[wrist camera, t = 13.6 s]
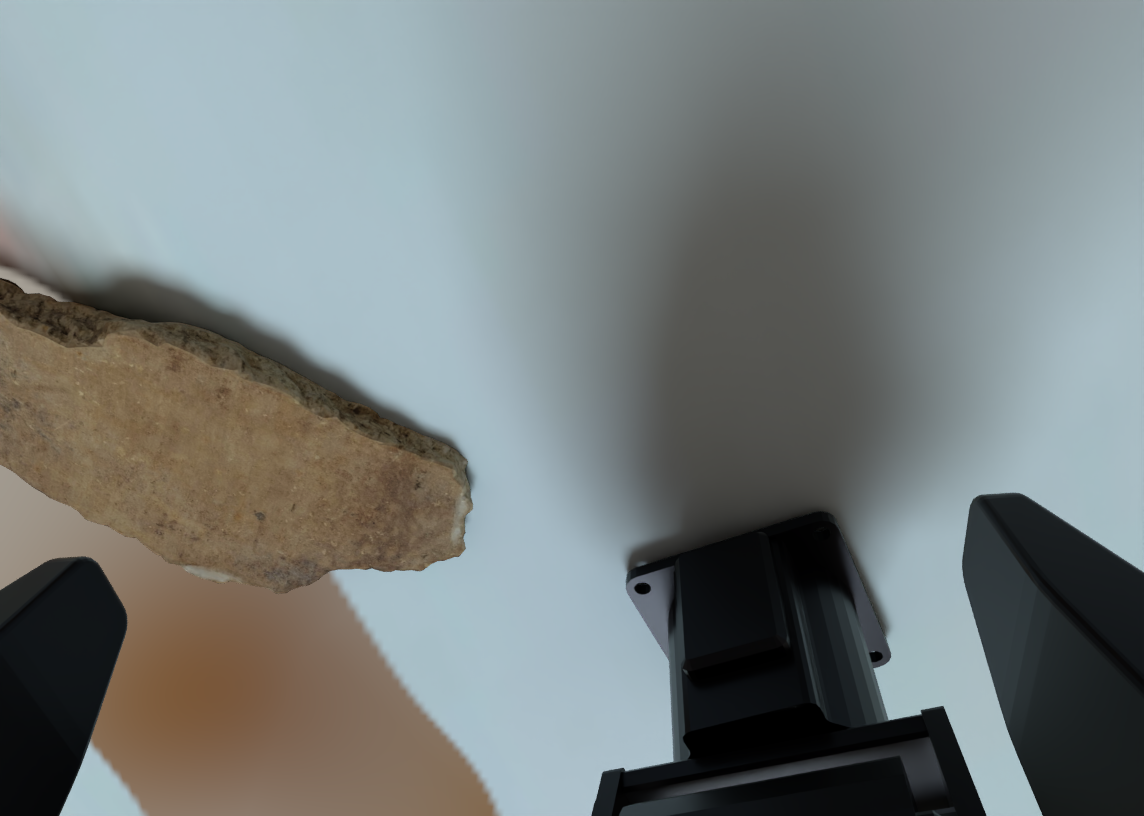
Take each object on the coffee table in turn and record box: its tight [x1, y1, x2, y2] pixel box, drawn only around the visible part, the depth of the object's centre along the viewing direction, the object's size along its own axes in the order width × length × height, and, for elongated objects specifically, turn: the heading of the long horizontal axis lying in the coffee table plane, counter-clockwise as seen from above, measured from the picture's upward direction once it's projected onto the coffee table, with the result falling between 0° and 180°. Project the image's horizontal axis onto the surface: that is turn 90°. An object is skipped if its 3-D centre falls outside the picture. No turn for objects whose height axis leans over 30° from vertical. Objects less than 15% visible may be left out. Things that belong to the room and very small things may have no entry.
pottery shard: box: [0, 278, 473, 594], centre depth 25 cm, size 8×3×15 cm
